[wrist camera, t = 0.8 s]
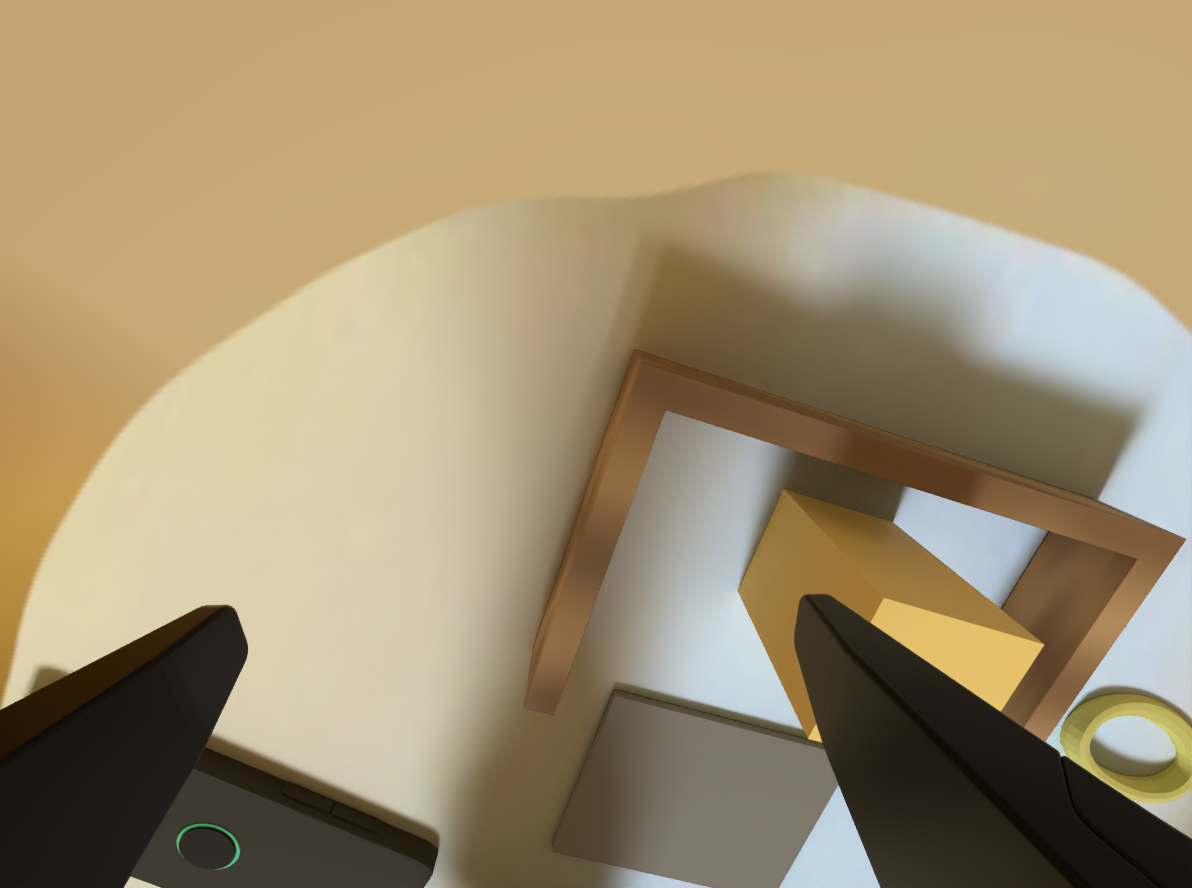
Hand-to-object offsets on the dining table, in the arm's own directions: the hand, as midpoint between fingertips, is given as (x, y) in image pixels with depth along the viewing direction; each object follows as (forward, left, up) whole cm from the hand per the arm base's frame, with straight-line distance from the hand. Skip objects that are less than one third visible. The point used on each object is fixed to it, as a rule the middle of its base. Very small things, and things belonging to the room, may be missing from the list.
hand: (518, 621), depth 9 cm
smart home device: (-25, +10, -14) cm, 30 cm away
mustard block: (-3, -12, -13) cm, 18 cm away
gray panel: (-17, -12, -13) cm, 24 cm away
